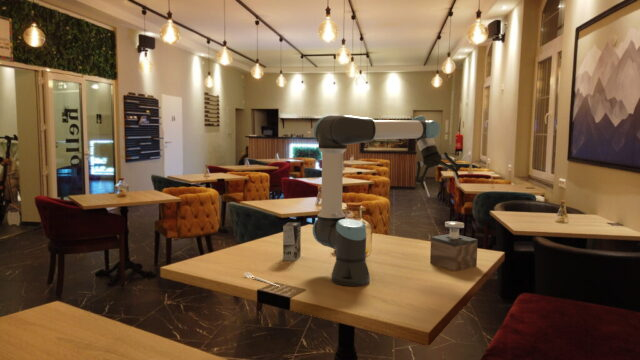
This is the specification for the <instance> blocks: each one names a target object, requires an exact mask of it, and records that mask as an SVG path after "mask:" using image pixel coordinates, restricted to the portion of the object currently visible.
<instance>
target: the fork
mask: <svg viewBox="0 0 640 360" xmlns="http://www.w3.org/2000/svg"><path fill="white" fill-rule="evenodd" d="M243 274H244V276H245V278H247V279H248V278H249V277H250V278H252V277H256V278H253V279H254V280H257V281H260V282H262V281H263V283H265V282H266V283H265V284H269V285H272V286H275V285H276V287H278V286H279V287H278V288H280V287H281V285H279V284H276V283H274V282H271V281H268V280H266V279H264V278H260V277H258V276H254V275H253V274H252V273H251V272H249V271H246V272H243Z"/></svg>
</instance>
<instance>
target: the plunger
mask: <svg viewBox="0 0 640 360" xmlns="http://www.w3.org/2000/svg"><path fill="white" fill-rule="evenodd" d="M444 227H446V228H449V234H450V235H449V239H452V240H458V239H459V235H460V229H464V228H465V223H464V222H461V221H453V220H452V221H445V222H444Z"/></svg>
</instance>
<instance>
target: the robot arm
mask: <svg viewBox="0 0 640 360" xmlns="http://www.w3.org/2000/svg"><path fill="white" fill-rule="evenodd" d="M440 133H441V127H440V124H439V122H438V121H436V120H431V119H429V120H427V118H426V117H425V116H423V115H419V116H415V117H413V118H411V120H408V119H407V120H398V119H397V120H396V119H395V120H393V119H392V120H389V119H386V120H385V119H383V120H382V119H378V120H377V119H376V120H375V119H373V118H372V117H363V116H355V115H347V114H343V115H333V114H332V115H326V116H323V117H320V119H318V120H317V121H316V122H315V125H314V127H313V138H314V139H315V140H316V142H317V144H318V150H319V151H320V152H321V201H320V202H321V210H320V212H319V213H317V218H316V219H315V221H314V223H313V225H312V235H313V236H312V237H314V239H315V241H316V242H318V243H319V244H321V245H322V246H324V247H328V248H331V249H333V250H335V263H334V266H333V269H332V272H331V279H330V280H331V282H332V283H333V284H336V285H339V286H344V287H345V286H346V287H359V286H366V285H367V284H369V283H370V281H371V275H370V271H369V268H368V265H367V261H366V260H367V259H366V258H367V257H366V254H367V252H366V251H367V233H368V232H367V228H366V224H365V223H364V222H362V221H360V220H357V219H352V218H346V217H347V216H346V214H345V213H344V211H343V174H344V173H343V169H344V166H343V165H344V161H343V160H344V153H345V152H346V151H347V149H348V146H349V145H355V144H361V143H371V142H372V141H374V140H398V139H399V140H401V139H402V140H404V139H415V141H416V144H417V146H418V149H419V151H420V154H421V157H422V161H417V162H416V163H417V171H416V179H415V183H416V184H417V185H419V184H420V185H421V188H422V190H423V191H425V192H426V194H427V197H428V198H430V197H431V195H430V192H429V190H428V186H427V184H426V181H425V179H426V176H427V175H428V172H429V170H430V169H433V168H437V167H439V166H441V167H443V168H445V169H448V171H451V172H452V175H453V177H454V179H455V182H456V185H457V187H458V188H459V187H461V184H460V181H459V180H460V175H459V171H460V170H461V166H460V165H459V164H458V163H457V162H456V161H455V160H454V159H452V158H451V157H450V156H449V155H448V153H447V152H446V151H445V152H444V153H442V154H440V153H439V150H438V147H437V146H436V142H435V140H434V139H435V138H437V137H439V135H440ZM442 158H443V159H445V160H446V161H448V163H449V164H448V163H447V162H444V161H443V160H442ZM450 164H451V165H450ZM423 165H425V168H424V171H423V173H422V175H421V170H422V167H423ZM420 177H421V178H420Z"/></svg>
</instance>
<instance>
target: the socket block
mask: <svg viewBox="0 0 640 360" xmlns="http://www.w3.org/2000/svg"><path fill="white" fill-rule="evenodd" d="M449 235H450V233H448V234H441V235H440V234H439V235H435V236H434V235H433V236H431V237H430V255H429V257H430V259H429V263H430V264H433V265H435V266H439V267H441V268H443V269H447V270H450V271H453V272H457V271H460V270H466V269H470V268H475V267H477V263H478V262H477V261H478V244H479V243H478V241H479V240H478V239H477V238H474V237H473V238H472V237H469V236H464V235H460V234H459V239H458V240H452V239H449Z"/></svg>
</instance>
